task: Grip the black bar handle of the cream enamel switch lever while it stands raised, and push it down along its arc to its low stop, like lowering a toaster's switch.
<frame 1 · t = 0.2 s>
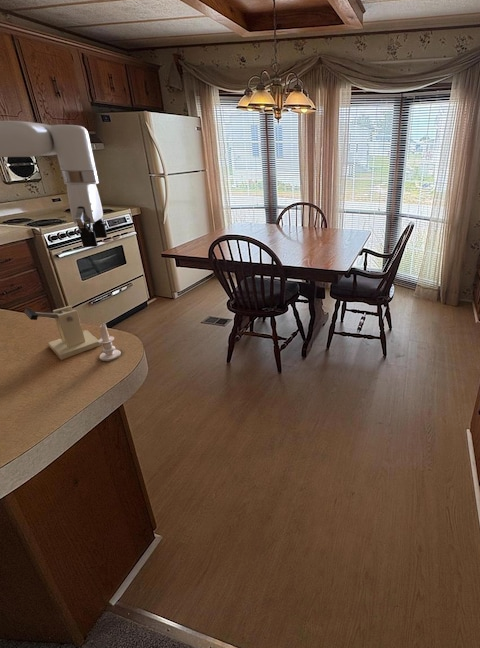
hand: (95, 241, 95), 30 cm above the table, tool pointing down, fingers open, 9 cm apart
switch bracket: (75, 346, 101), on the table
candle: (110, 356, 97), on the table
switch lever: (50, 315, 94), point 12 cm above the table, hinge at 25.0°
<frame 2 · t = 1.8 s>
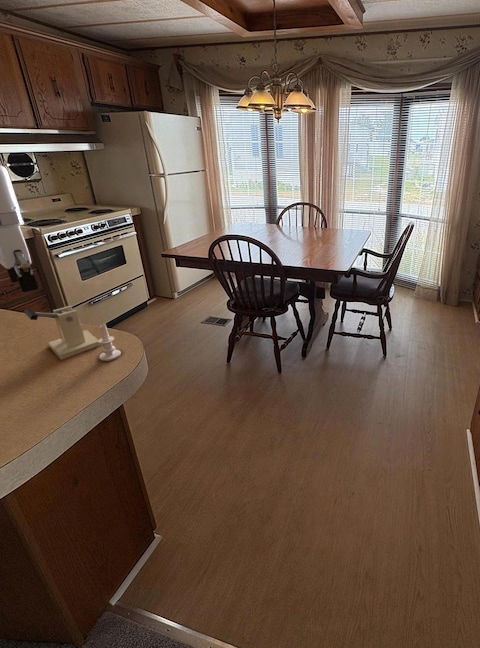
hand: (24, 285, 88), 21 cm above the table, tool pointing down, fingers open, 9 cm apart
nothing on the table moved.
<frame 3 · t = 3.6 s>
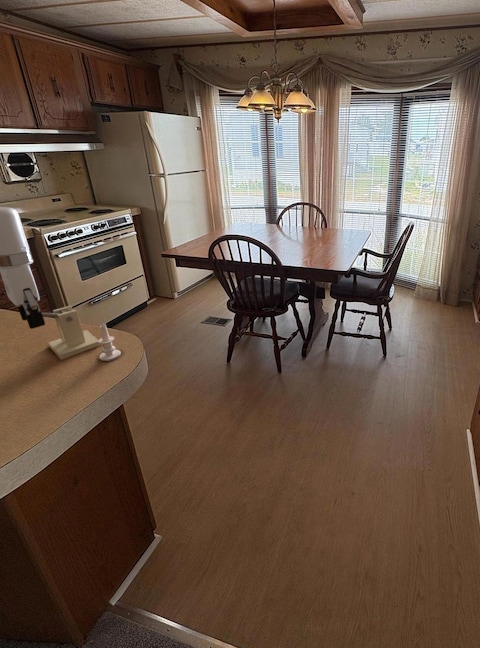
hand: (33, 322, 91), 11 cm above the table, tool pointing down, fingers closed on switch lever, 6 cm apart
switch lever: (50, 315, 94), point 12 cm above the table, hinge at 25.0°, touching gripper
everything else where it was.
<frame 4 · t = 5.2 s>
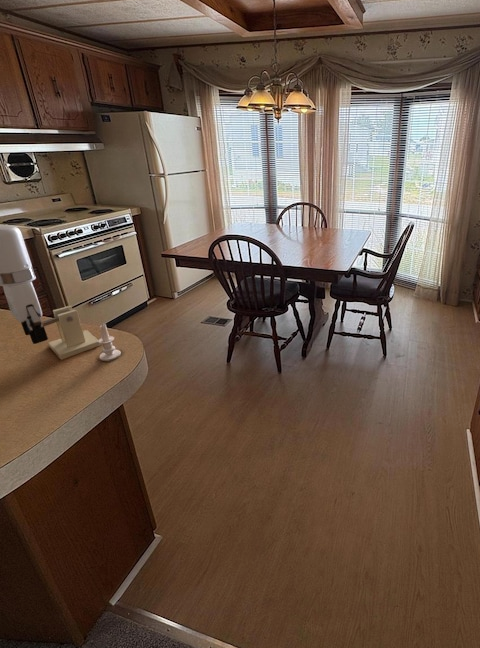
hand: (36, 336, 93), 7 cm above the table, tool pointing down, fingers closed on switch lever, 6 cm apart
switch lever: (51, 321, 95), point 10 cm above the table, hinge at -4.2°, touching gripper
everything else where it was.
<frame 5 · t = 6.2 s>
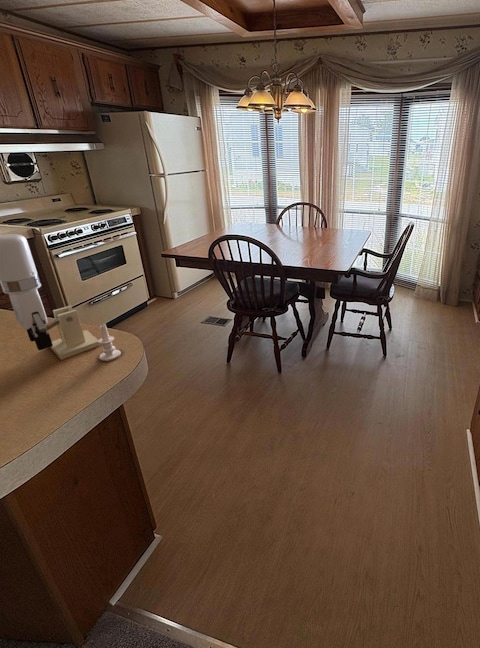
hand: (41, 343, 94), 4 cm above the table, tool pointing down, fingers closed on switch lever, 6 cm apart
switch lever: (53, 324, 95), point 9 cm above the table, hinge at -19.8°, touching gripper
everything else where it was.
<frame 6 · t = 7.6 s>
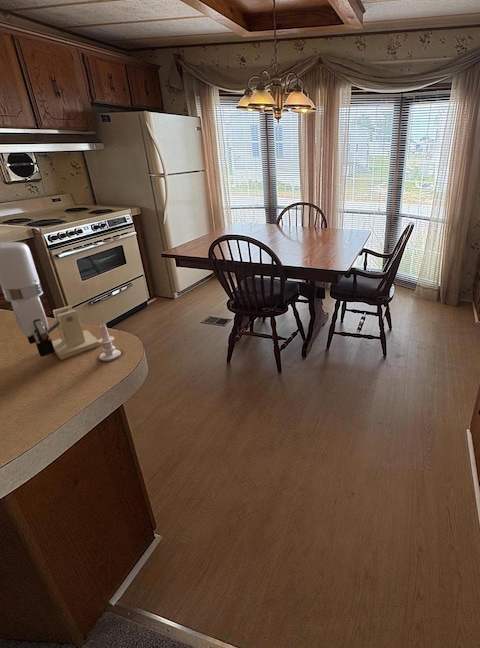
hand: (42, 347, 95), 3 cm above the table, tool pointing down, fingers open, 9 cm apart
switch lever: (54, 325, 95), point 8 cm above the table, hinge at -28.8°
everything else where it was.
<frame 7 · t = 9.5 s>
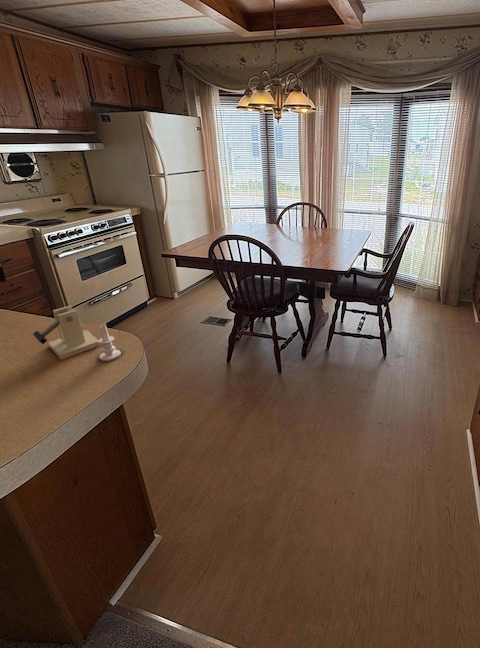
nothing on the table moved.
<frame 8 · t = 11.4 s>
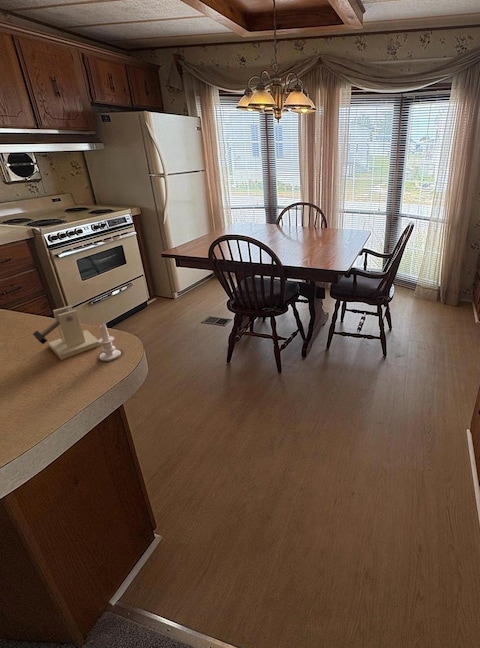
nothing on the table moved.
at the end: switch lever at -29° (first picture: +25°); the gripper is holding nothing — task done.
